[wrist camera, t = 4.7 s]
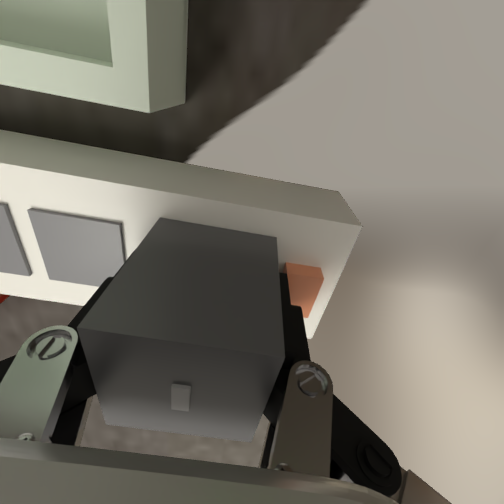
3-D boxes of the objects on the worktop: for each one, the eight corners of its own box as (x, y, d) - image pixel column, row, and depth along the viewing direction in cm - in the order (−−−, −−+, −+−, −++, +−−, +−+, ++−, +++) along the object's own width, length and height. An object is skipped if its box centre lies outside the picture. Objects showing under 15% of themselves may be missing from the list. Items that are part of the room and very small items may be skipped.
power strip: (-78, 230, 16) (-192, 280, 12) (-154, 101, 12) (-356, 110, 8) (302, 289, 18) (313, 351, 14) (338, 191, 14) (369, 236, 10)
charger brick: (175, 196, 12) (74, 331, 6) (274, 214, 13) (285, 361, 6) (174, 274, 15) (104, 427, 8) (257, 287, 15) (250, 445, 9)
